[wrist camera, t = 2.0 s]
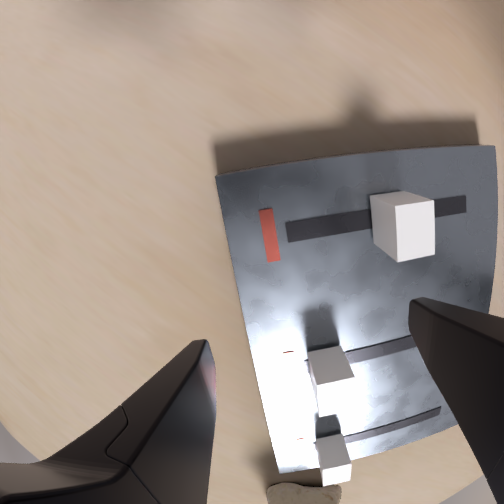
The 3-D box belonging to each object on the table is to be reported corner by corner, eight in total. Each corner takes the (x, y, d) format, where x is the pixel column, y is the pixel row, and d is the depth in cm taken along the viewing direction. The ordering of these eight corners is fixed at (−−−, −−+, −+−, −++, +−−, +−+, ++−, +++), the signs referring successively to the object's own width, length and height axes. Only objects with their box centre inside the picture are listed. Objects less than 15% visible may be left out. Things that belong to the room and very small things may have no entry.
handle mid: (340, 345, 21) (355, 377, 18) (342, 377, 22) (354, 409, 19) (307, 352, 21) (316, 385, 18) (310, 383, 22) (319, 417, 19)
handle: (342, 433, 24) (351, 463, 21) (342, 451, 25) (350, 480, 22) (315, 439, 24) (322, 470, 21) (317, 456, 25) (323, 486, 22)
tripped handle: (404, 190, 18) (433, 200, 15) (406, 237, 19) (434, 254, 16) (369, 195, 18) (394, 206, 15) (373, 243, 19) (397, 262, 16)
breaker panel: (479, 144, 19) (495, 145, 17) (451, 412, 28) (459, 424, 26) (217, 174, 20) (214, 176, 18) (278, 459, 28) (279, 474, 26)
